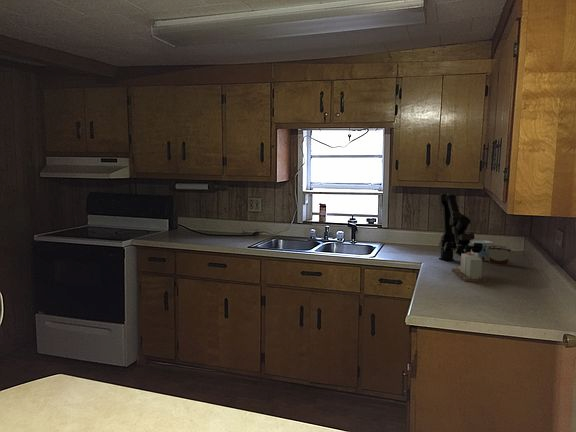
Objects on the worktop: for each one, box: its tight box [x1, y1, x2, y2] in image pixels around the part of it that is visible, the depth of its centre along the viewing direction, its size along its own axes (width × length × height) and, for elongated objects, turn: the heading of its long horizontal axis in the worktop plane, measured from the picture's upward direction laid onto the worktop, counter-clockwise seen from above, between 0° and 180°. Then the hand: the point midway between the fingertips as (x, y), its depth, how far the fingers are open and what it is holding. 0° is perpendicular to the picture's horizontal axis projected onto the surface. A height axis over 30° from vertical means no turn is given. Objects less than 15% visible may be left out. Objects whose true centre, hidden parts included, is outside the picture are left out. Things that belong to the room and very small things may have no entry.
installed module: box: [465, 257, 483, 278], centre depth 236 cm, size 6×6×9 cm
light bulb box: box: [470, 240, 495, 262], centre depth 284 cm, size 11×7×11 cm, turn 105°
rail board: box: [451, 266, 487, 283], centre depth 244 cm, size 21×10×2 cm, turn 178°
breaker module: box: [459, 251, 477, 274], centre depth 244 cm, size 7×6×10 cm
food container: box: [488, 244, 512, 267], centre depth 273 cm, size 12×6×10 cm, turn 59°
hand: (466, 261), depth 248 cm, fingers closed, pressing on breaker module
